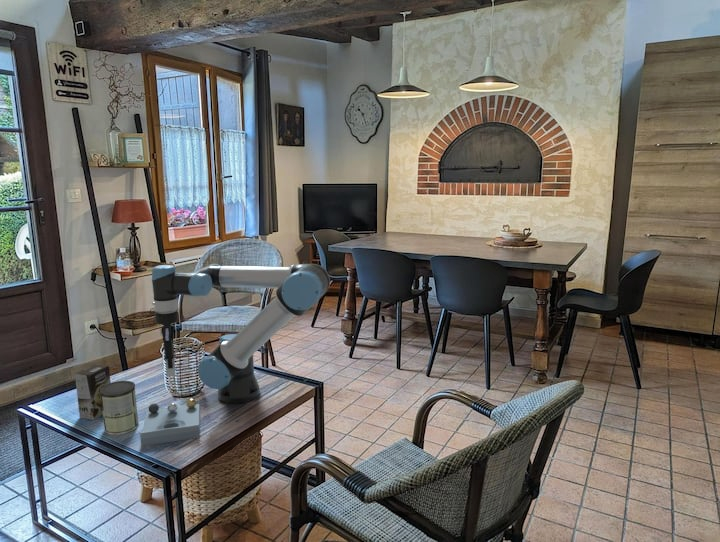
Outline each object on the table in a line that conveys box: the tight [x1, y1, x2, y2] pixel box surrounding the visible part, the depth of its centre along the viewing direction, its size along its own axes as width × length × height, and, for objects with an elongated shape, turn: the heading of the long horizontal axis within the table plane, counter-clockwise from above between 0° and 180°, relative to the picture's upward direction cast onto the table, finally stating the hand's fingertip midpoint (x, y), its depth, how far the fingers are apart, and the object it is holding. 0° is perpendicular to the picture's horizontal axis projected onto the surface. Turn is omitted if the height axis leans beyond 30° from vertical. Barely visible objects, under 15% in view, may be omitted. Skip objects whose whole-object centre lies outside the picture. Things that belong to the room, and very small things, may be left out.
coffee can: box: [100, 380, 139, 436], centre depth 165 cm, size 10×10×14 cm
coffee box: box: [74, 363, 112, 421], centre depth 174 cm, size 9×6×16 cm
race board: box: [139, 403, 201, 447], centre depth 166 cm, size 17×19×4 cm
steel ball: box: [166, 402, 178, 413], centre depth 171 cm, size 3×3×3 cm
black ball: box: [148, 403, 160, 413], centre depth 170 cm, size 3×3×3 cm
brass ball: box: [186, 398, 197, 408], centre depth 174 cm, size 3×3×3 cm
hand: (171, 375), depth 177 cm, fingers closed
